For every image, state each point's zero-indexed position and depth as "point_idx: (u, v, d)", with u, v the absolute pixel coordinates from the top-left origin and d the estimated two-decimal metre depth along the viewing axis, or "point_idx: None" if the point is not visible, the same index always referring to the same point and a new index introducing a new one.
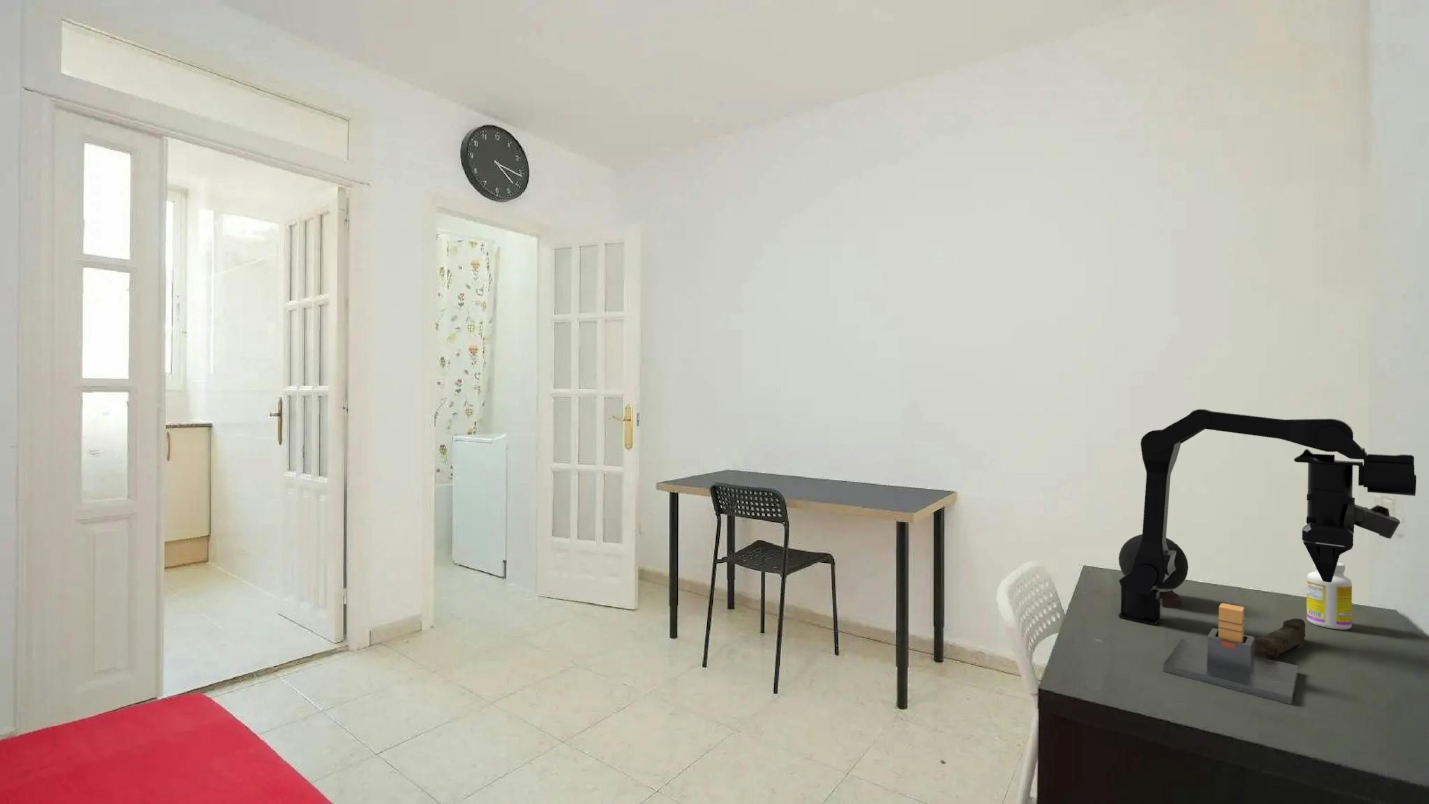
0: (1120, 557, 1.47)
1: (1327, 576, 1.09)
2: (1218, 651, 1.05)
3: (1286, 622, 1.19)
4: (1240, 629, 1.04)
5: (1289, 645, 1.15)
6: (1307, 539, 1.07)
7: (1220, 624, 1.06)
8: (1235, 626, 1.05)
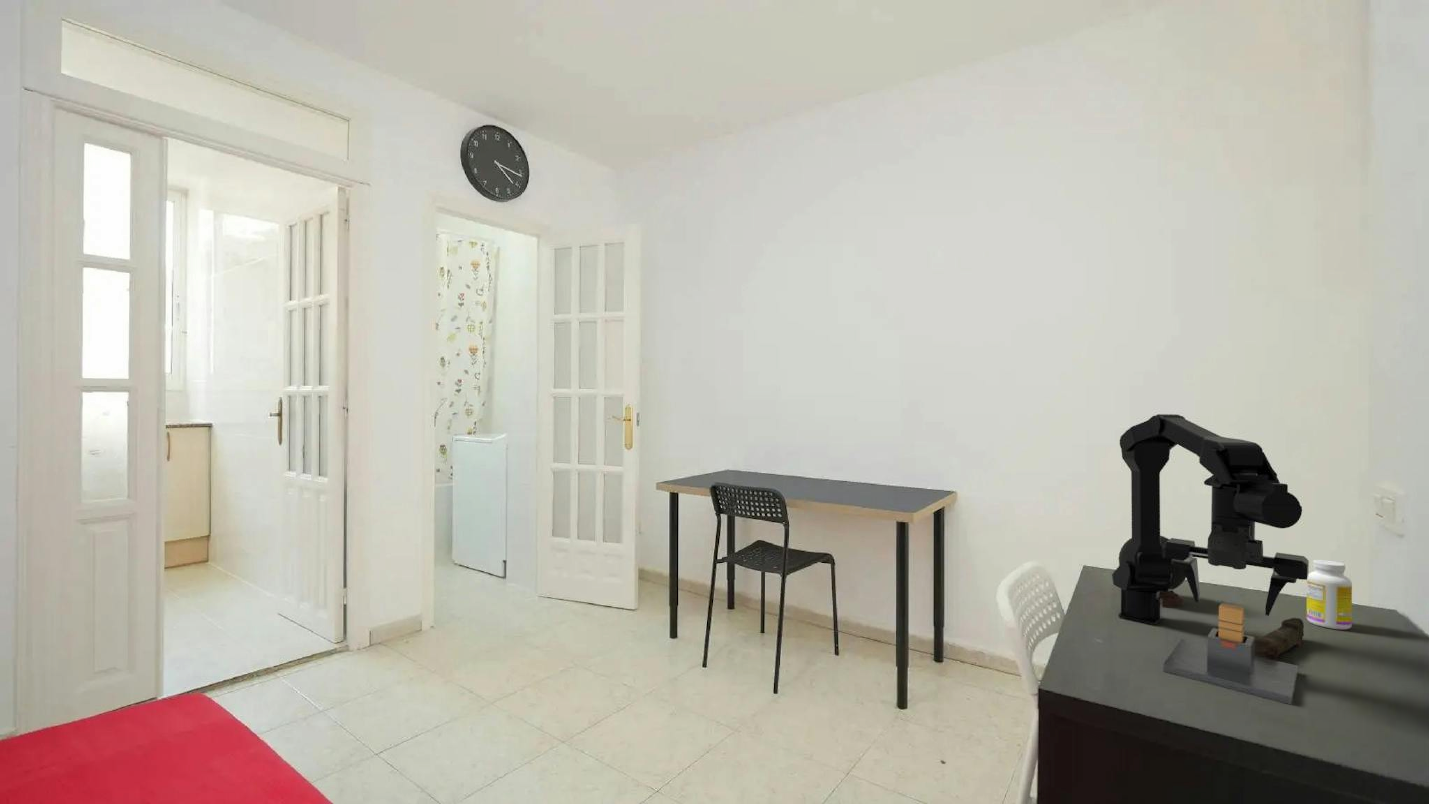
0: (1120, 557, 1.47)
1: None
2: (1218, 651, 1.05)
3: (1285, 622, 1.19)
4: (1240, 629, 1.04)
5: (1288, 645, 1.15)
6: None
7: (1220, 624, 1.06)
8: (1235, 626, 1.05)
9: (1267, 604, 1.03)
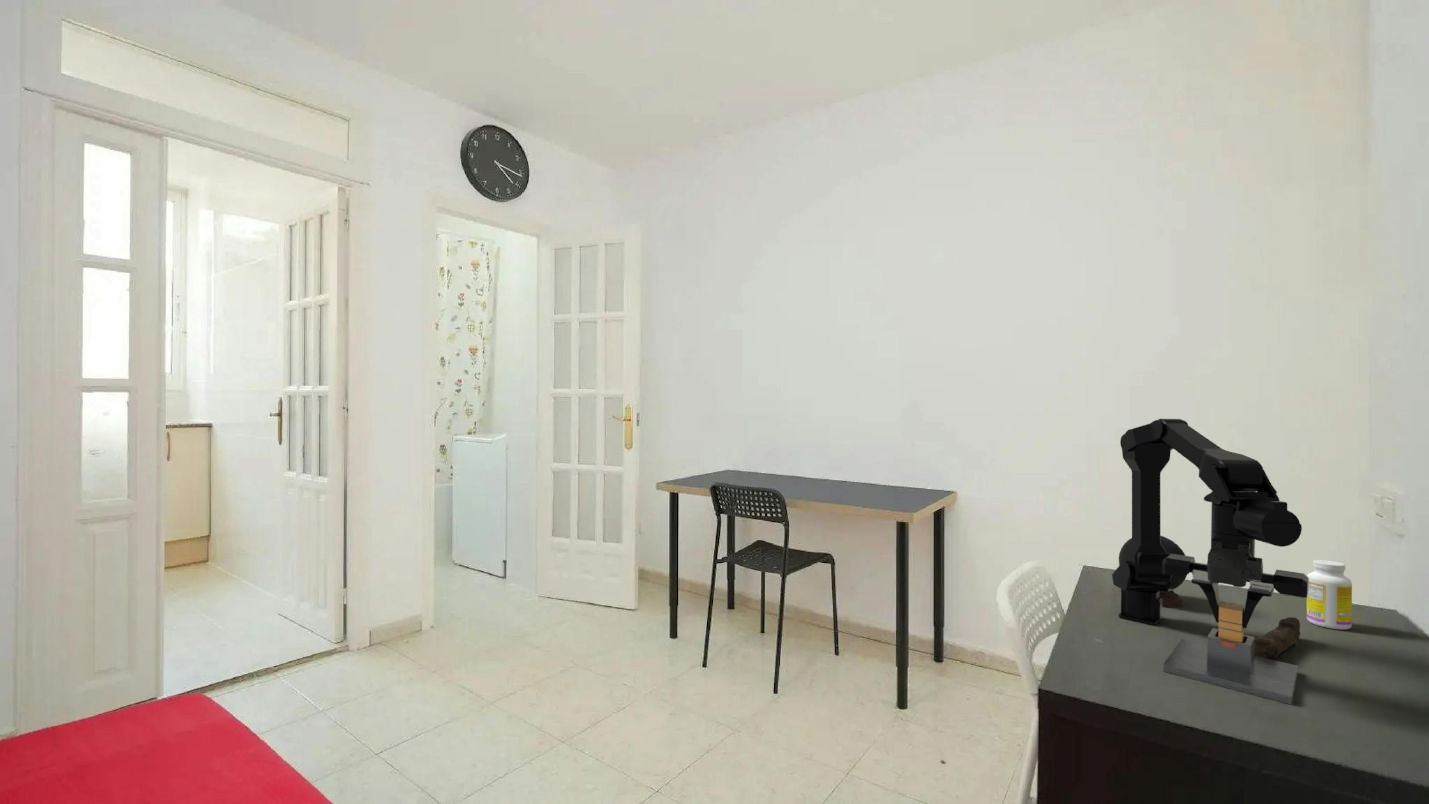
0: (1120, 557, 1.47)
1: None
2: (1218, 651, 1.05)
3: (1282, 621, 1.20)
4: (1240, 629, 1.04)
5: (1287, 644, 1.15)
6: None
7: (1220, 624, 1.06)
8: (1235, 626, 1.05)
9: (1244, 617, 1.05)
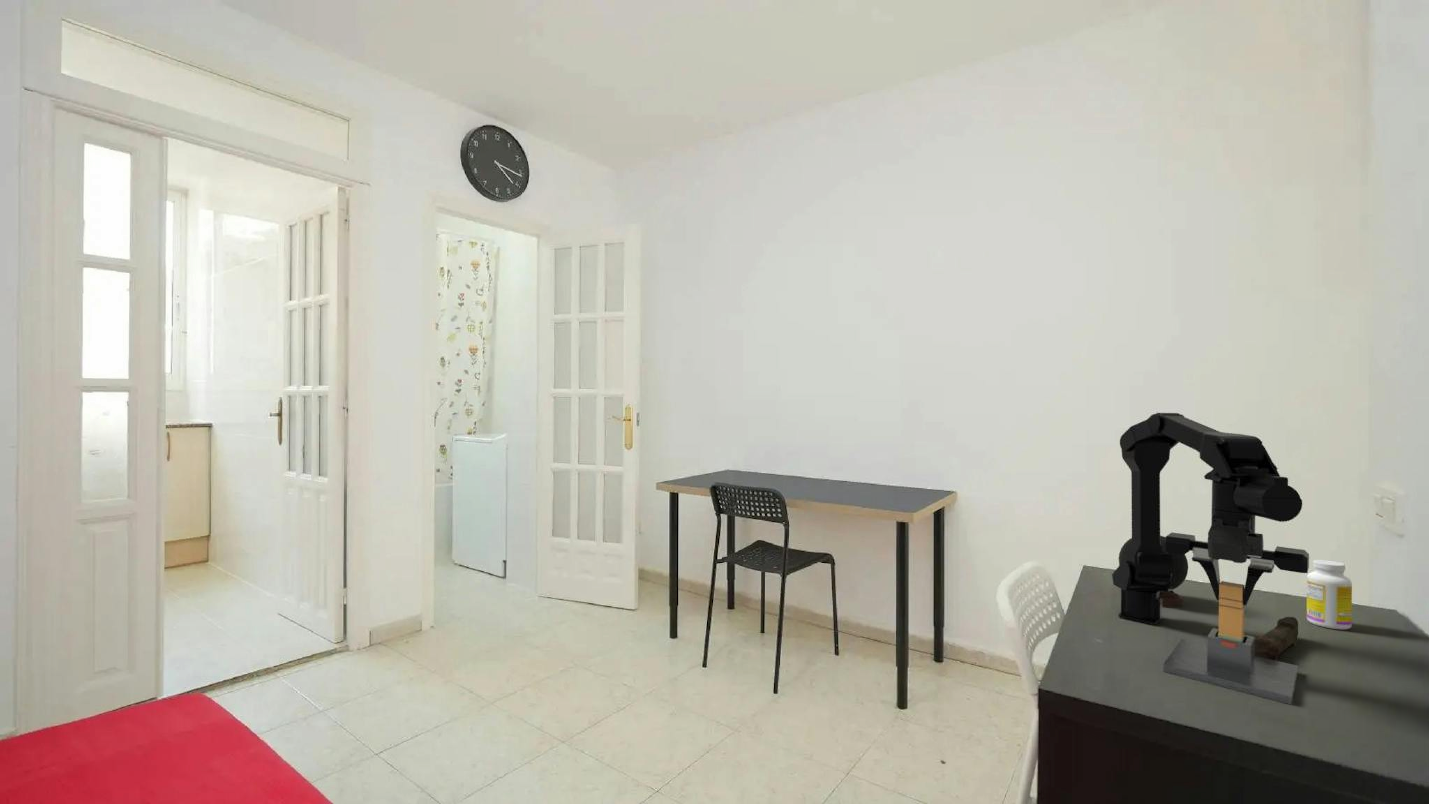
0: (1120, 557, 1.47)
1: None
2: (1218, 651, 1.05)
3: (1280, 621, 1.20)
4: (1240, 606, 1.04)
5: (1286, 644, 1.15)
6: None
7: (1220, 601, 1.06)
8: (1235, 603, 1.05)
9: (1245, 594, 1.05)
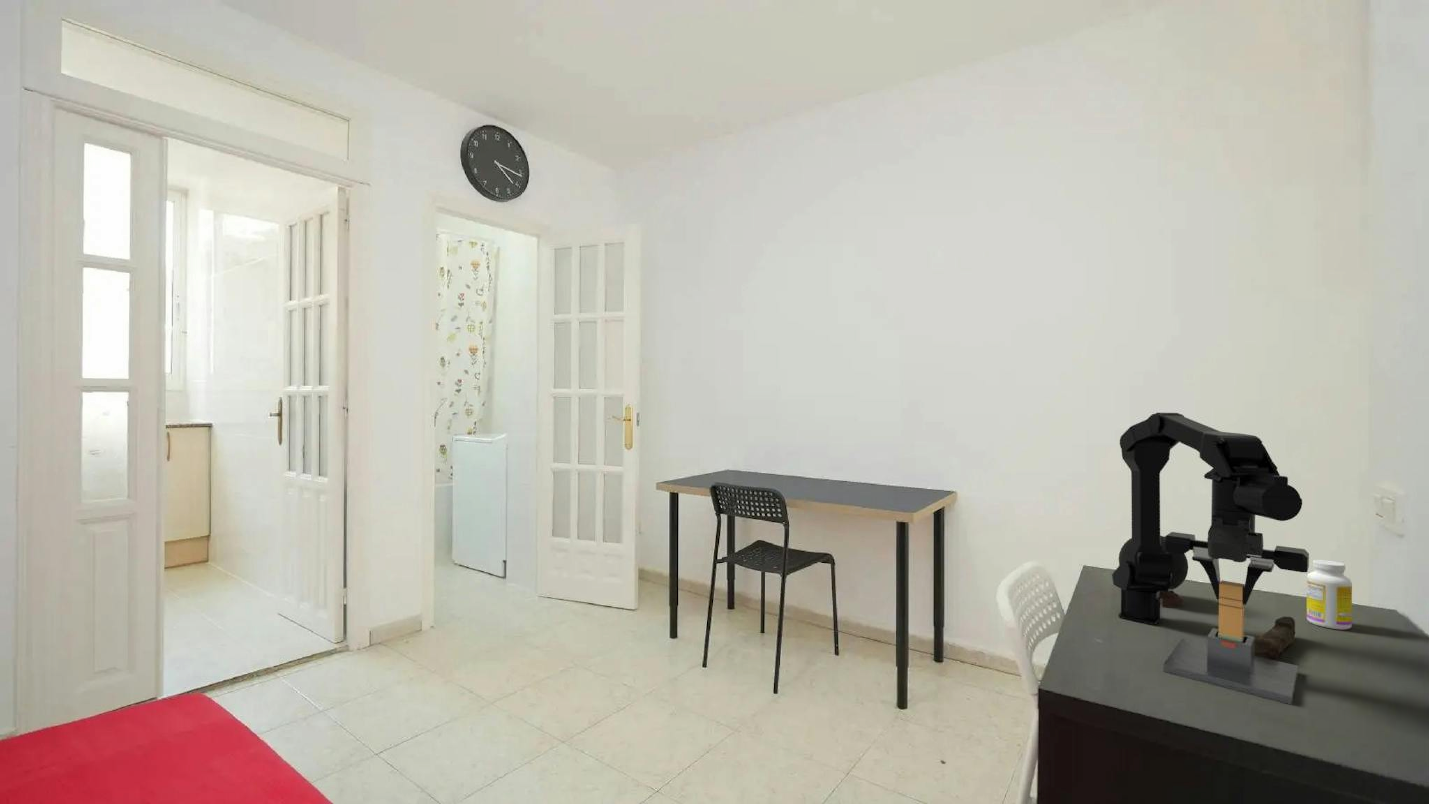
0: (1120, 557, 1.47)
1: None
2: (1218, 651, 1.05)
3: (1278, 621, 1.20)
4: (1240, 605, 1.04)
5: (1285, 644, 1.15)
6: None
7: (1220, 601, 1.06)
8: (1235, 602, 1.05)
9: (1244, 593, 1.05)
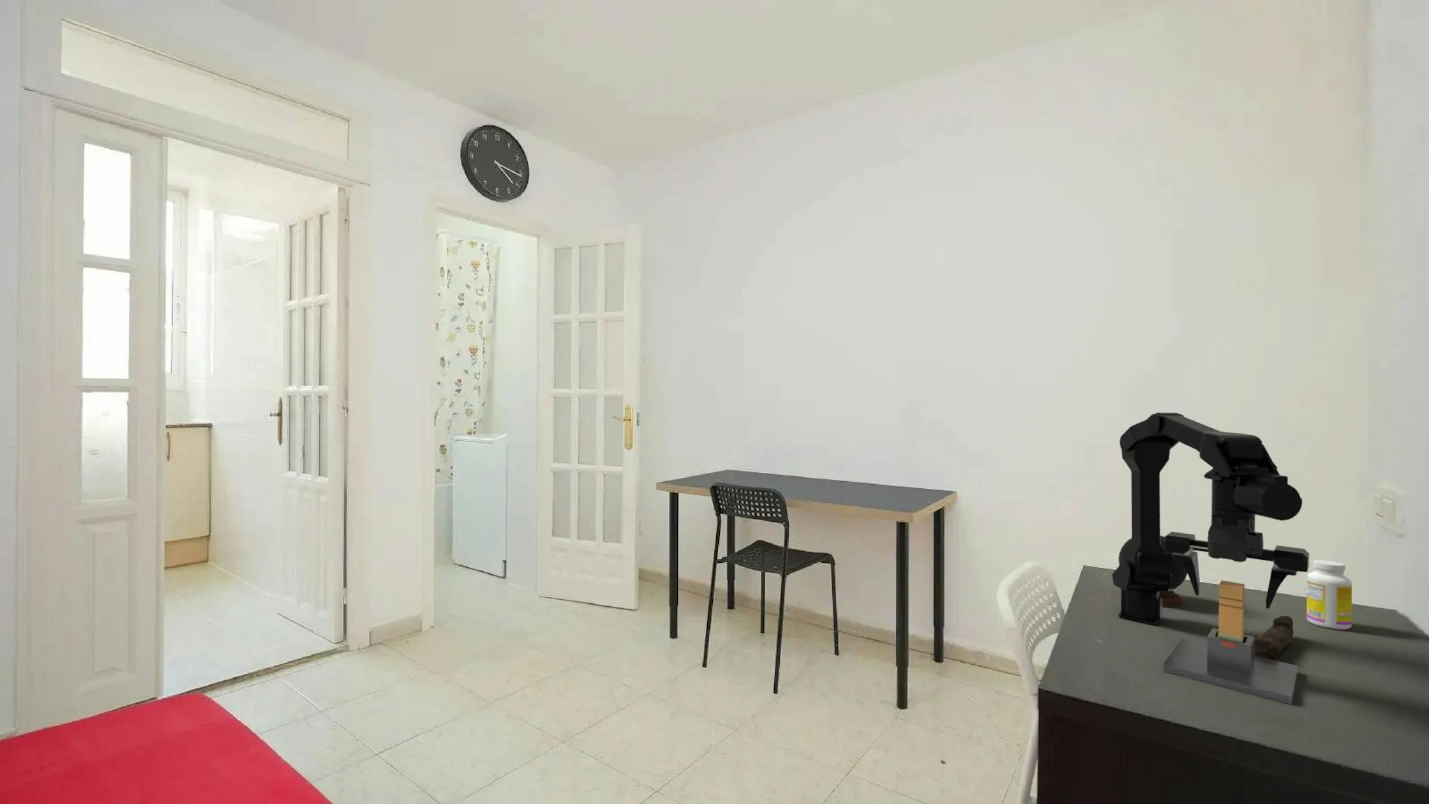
0: (1120, 557, 1.47)
1: None
2: (1218, 651, 1.05)
3: (1276, 620, 1.20)
4: (1240, 605, 1.04)
5: (1284, 643, 1.15)
6: None
7: (1220, 601, 1.06)
8: (1235, 602, 1.05)
9: (1267, 597, 1.02)
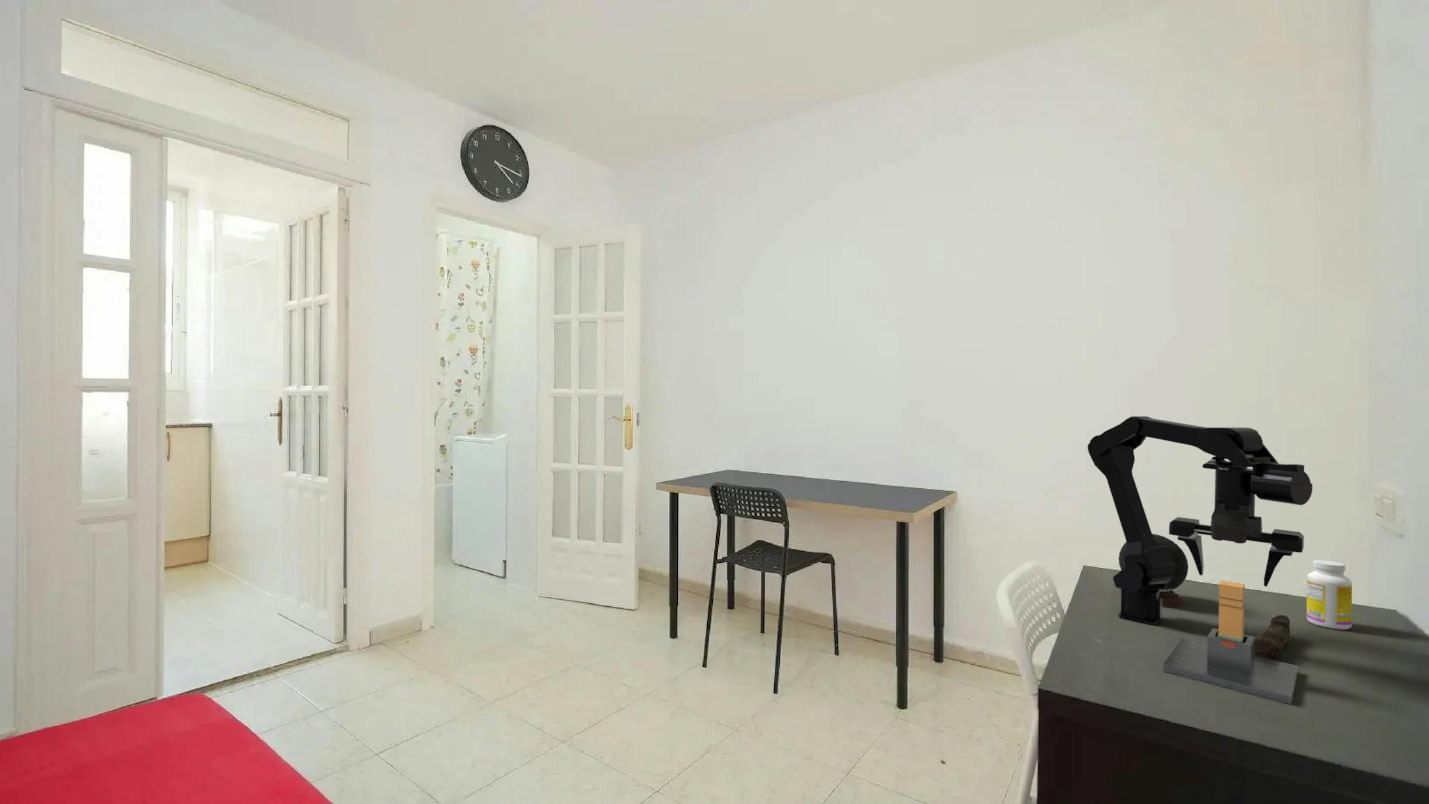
0: (1120, 557, 1.47)
1: None
2: (1218, 651, 1.05)
3: (1274, 619, 1.21)
4: (1240, 605, 1.04)
5: (1283, 643, 1.15)
6: None
7: (1220, 601, 1.06)
8: (1235, 602, 1.05)
9: (1265, 576, 1.12)
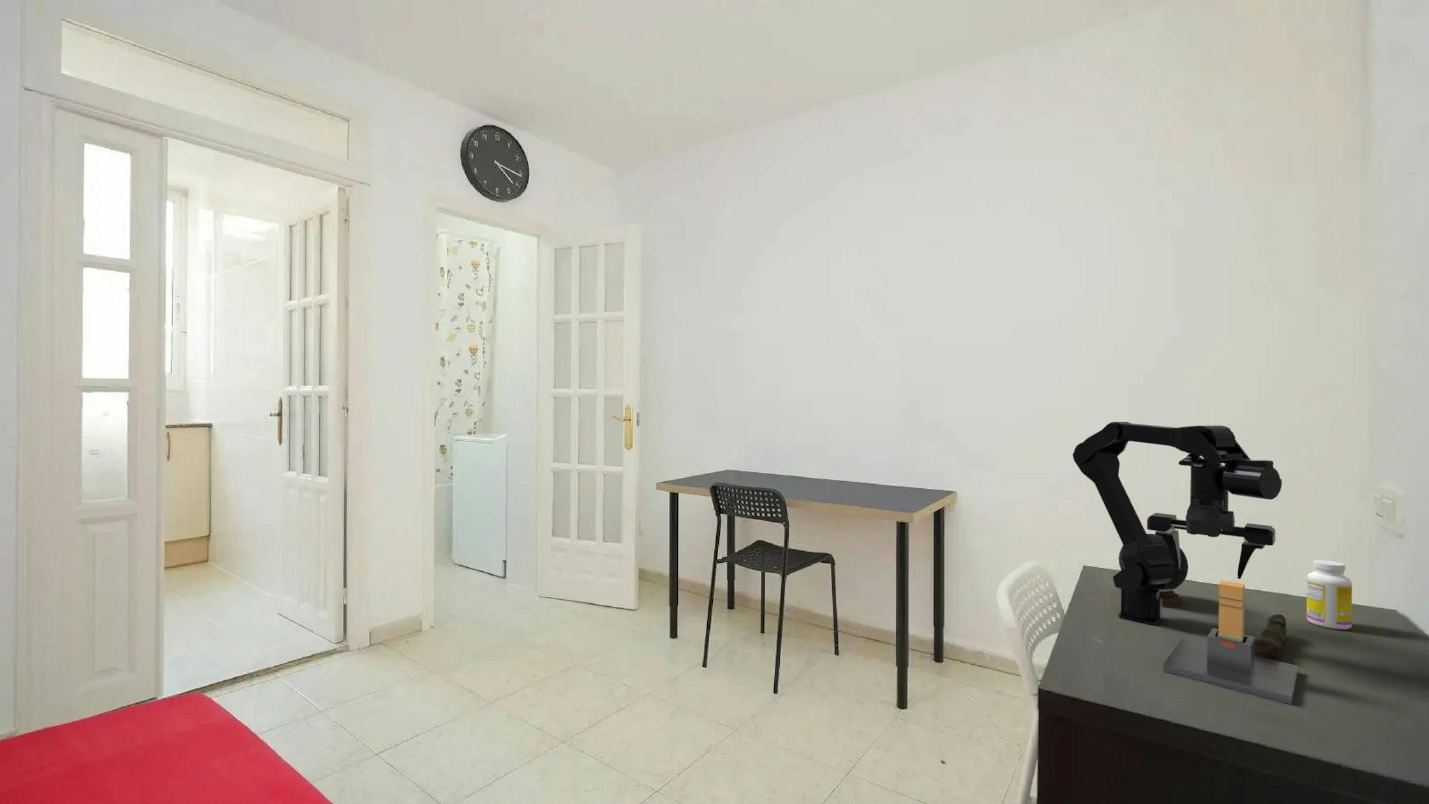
0: (1120, 557, 1.47)
1: None
2: (1218, 651, 1.05)
3: (1271, 619, 1.21)
4: (1240, 605, 1.04)
5: (1281, 643, 1.16)
6: None
7: (1220, 601, 1.06)
8: (1235, 602, 1.05)
9: (1239, 568, 1.16)
